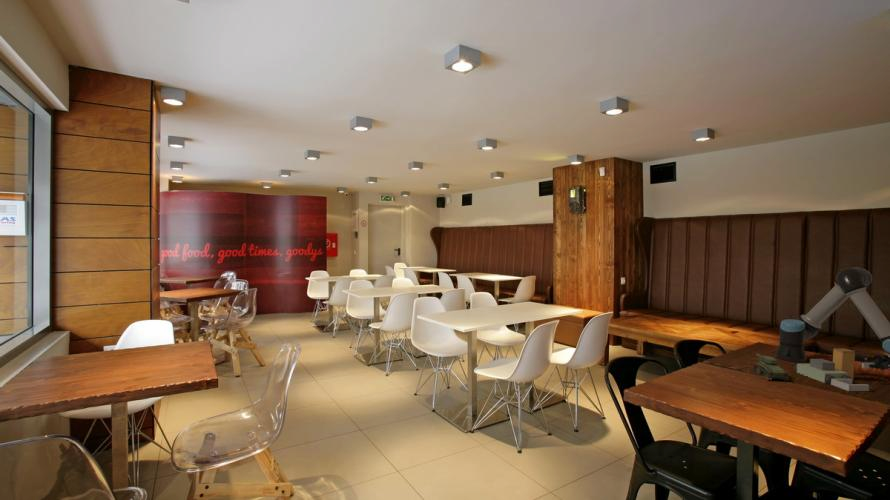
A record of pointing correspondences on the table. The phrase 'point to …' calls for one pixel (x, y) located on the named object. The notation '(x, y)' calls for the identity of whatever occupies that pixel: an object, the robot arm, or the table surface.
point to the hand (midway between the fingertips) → (849, 361)
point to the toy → (770, 368)
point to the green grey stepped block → (829, 374)
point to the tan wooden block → (844, 360)
